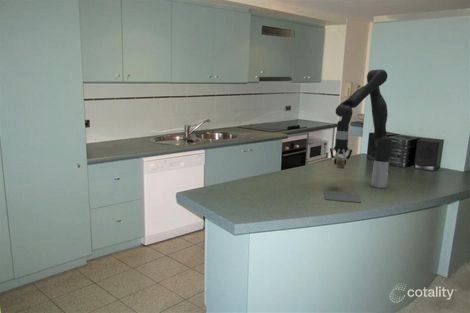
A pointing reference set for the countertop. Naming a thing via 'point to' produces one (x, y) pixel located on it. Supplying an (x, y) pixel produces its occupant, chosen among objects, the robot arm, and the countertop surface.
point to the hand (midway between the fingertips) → (339, 164)
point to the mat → (342, 197)
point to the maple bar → (340, 162)
